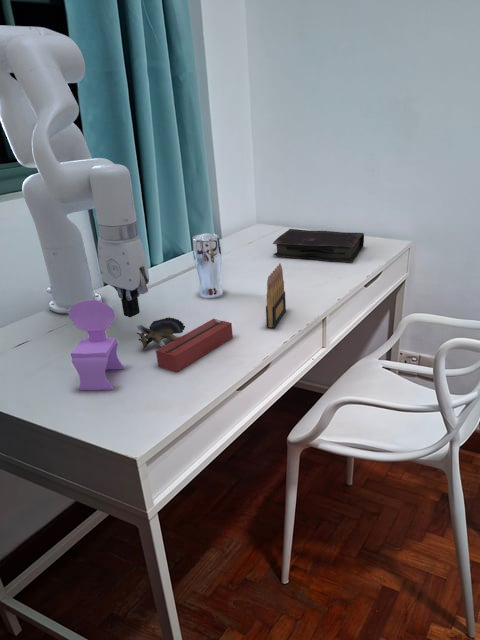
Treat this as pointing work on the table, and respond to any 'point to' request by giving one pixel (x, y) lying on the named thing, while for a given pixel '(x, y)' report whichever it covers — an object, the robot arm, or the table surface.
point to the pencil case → (194, 345)
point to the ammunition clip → (275, 298)
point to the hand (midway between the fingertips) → (132, 314)
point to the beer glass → (208, 264)
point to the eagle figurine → (160, 331)
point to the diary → (319, 245)
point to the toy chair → (94, 344)
